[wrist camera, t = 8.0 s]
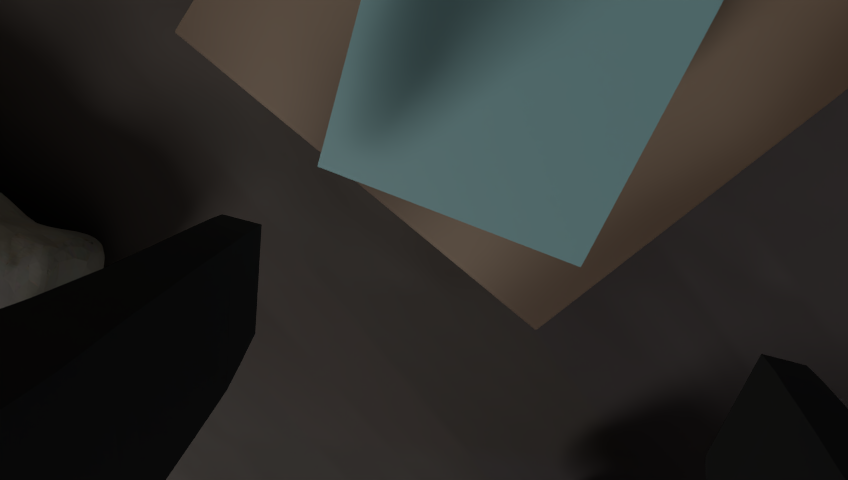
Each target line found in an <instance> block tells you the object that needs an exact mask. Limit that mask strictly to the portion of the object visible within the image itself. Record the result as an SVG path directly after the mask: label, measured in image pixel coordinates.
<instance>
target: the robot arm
mask: <svg viewBox="0 0 848 480" xmlns="http://www.w3.org/2000/svg"><path fill="white" fill-rule="evenodd" d="M260 241H261V224H257V223H253V222H250V221H246V220H242V219H238V218H234V217H230V216H226V215H223V214H222V215H219V216H217V217H214V218H212V219H209V220H207V221H205V222H202V223H200V224H198V225H196V226H194V227H191V228H189V229H187V230H185V231H183V232H181V233H179V234H176V235H174V236H172V237H170V238H168V239H166V240H164V241H162V242H159V243H157V244H155V245H153V246H151V247H149V248H147V249H144V250H142V251H140V252H138V253H136V254H133V255H131V256H129V257H127V258H125V259H122V260H120V261H118V262H116V263H114V264H111V265H109V266H107V267H105V268H103V269H100V270H98V271H95V272H93V273H90V274H88V275H85V276H83V277H81V278H78V279H76V280H73V281H71V282H68V283H66V284H63V285H61V286H58V287H56V288H53V289H51V290H49V291H46V292H44V293H41V294H39V295H36V296H34V297H31V298H29V299H26V300H23V301H20V302H18V303H15V304H12V305H9V306H6V307H4V308H1V309H0V480H166V478H167V477H168V476H169V474H170V473H171V471H172V470H173V468H174V467H175V465H176V464H177V462H178V461H179V460H180V458H181V457H182V455H183V454H184V452H185V451H186V449H187V448H188V446H189V445H190V444H191V442H192V441H193V439H194V438H195V436H196V435H197V433H198V432H199V430H200V429H201V427H202V426H203V424H204V423H205V421H206V420H207V419H208V417H209V416H210V414H211V413H212V411H213V410H214V408H215V407H216V405H217V404H218V402H219V401H220V399H221V398H222V396H223V395H224V393H225V392H226V390H227V388H228V386H229V384H230V383H231V381H232V379H233V377H234V375H235V373H236V371H237V369H238V367H239V365H240V363H241V361H242V359H243V357H244V355H245V353H246V351H247V349H248V347H249V345H250V343H251V341H252V339H253V337H254V335H255V326H256V309H257V292H258V275H259V258H260ZM705 457H706V480H848V409H847V408H846V407H845V405H844V404H843V403H842V402H841V401H840V400H839V399H838V398H837V397H836V395H835V394H834V393H833V392H832V391H831V390H830V389H829V388H828V387H827V386H826V385H825V384H824V382H823V381H822V380H821V379H820V378H819V377H818V376H817V375H816V374H815V373H814V372H813V371H812V370H811V369H810V368H809V367H807V366H806V365H802V364H798V363H794V362H790V361H786V360H783V359H779V358H775V357H771V356H767V355H763V354H761V356H760V358H759V359H758V361H757V363H756V365H755V367H754V369H753V370H752V372H751V374H750V376H749V378H748V379H747V381H746V383H745V385H744V387H743V389H742V390H741V392H740V394H739V396H738V398H737V399H736V401H735V403H734V405H733V407H732V409H731V410H730V412H729V414H728V416H727V418H726V420H725V421H724V423H723V425H722V427H721V429H720V430H719V432H718V434H717V436H716V438H715V440H714V441H713V443H712V445H711V447H710V449H709V451H708V452H707V454H706V456H705Z"/></svg>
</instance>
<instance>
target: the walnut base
mask: <svg viewBox="0 0 848 480" xmlns="http://www.w3.org/2000/svg"><path fill="white" fill-rule="evenodd" d="M360 2H361V0H194V1H193V2H192V4H191V6H190V7H189V9H188V11H187V12H186V14H185V16H184V17H183V19H182V21H181V22H180V24H179V26H178V27H177V29H176V31H175V33H177V34H178V35H179V36H180V37H181V38H183V39H184V40H185V41H186V42H187V43H189V44H190V45H191V46H192V47H193V48H195V49H196V50H197V51H198V52H200V53H201V54H202V55H203V56H204V57H206V58H207V59H208V60H209V61H210V62H212V63H213V64H214V65H215V66H216V67H218V68H219V69H220V70H221V71H223V72H224V73H225V74H226V75H227V76H229V77H230V78H231V79H232V80H233V81H235V82H236V83H237V84H238V85H239V86H241V87H242V88H243V89H244V90H246V91H247V92H248V93H249V94H250V95H252V96H253V97H254V98H255V99H256V100H258V101H259V102H260V103H261V104H263V105H264V106H265V107H266V108H267V109H269V110H270V111H271V112H272V113H273V114H275V115H276V116H277V117H278V118H279V119H281V120H282V121H283V122H284V123H286V124H287V125H288V126H289V127H290V128H292V129H293V130H294V131H295V132H296V133H298V134H299V135H300V136H301V137H302V138H304V139H305V140H306V141H307V142H309V143H310V144H311V145H312V146H313V147H315V148H316V149H317V150H318V151H319V152H321V151H322V148H323V144H324V140H325V136H326V132H327V128H328V125H329V121H330V117H331V113H332V109H333V105H334V102H335V98H336V94H337V90H338V86H339V82H340V78H341V75H342V71H343V67H344V63H345V59H346V55H347V52H348V48H349V44H350V40H351V36H352V32H353V29H354V25H355V21H356V17H357V13H358V9H359V5H360ZM846 89H848V0H724V1H723V2H722V4H721V6H720V8H719V10H718V12H717V14H716V15H715V17H714V19H713V21H712V23H711V25H710V27H709V29H708V30H707V32H706V34H705V36H704V38H703V40H702V42H701V44H700V45H699V47H698V49H697V51H696V53H695V55H694V57H693V58H692V60H691V62H690V64H689V66H688V68H687V70H686V72H685V73H684V75H683V77H682V79H681V81H680V83H679V85H678V87H677V88H676V90H675V92H674V94H673V96H672V98H671V100H670V101H669V103H668V105H667V107H666V109H665V111H664V113H663V115H662V116H661V118H660V120H659V122H658V124H657V126H656V128H655V129H654V131H653V133H652V135H651V137H650V139H649V141H648V143H647V144H646V146H645V148H644V150H643V152H642V154H641V156H640V158H639V159H638V161H637V163H636V165H635V167H634V169H633V171H632V172H631V174H630V176H629V178H628V180H627V182H626V184H625V186H624V187H623V189H622V191H621V193H620V195H619V197H618V199H617V201H616V202H615V204H614V206H613V208H612V210H611V212H610V214H609V215H608V217H607V219H606V221H605V223H604V225H603V227H602V229H601V230H600V232H599V234H598V236H597V238H596V240H595V242H594V244H593V245H592V247H591V249H590V251H589V253H588V255H587V257H586V258H585V260H584V262H583V264H582V266H581V267H579V266H576V265H573V264H571V263H568V262H566V261H563V260H560V259H558V258H555V257H553V256H550V255H547V254H545V253H542V252H540V251H537V250H534V249H532V248H529V247H527V246H524V245H521V244H519V243H516V242H513V241H511V240H508V239H506V238H503V237H500V236H498V235H495V234H493V233H490V232H487V231H485V230H482V229H480V228H477V227H474V226H472V225H469V224H466V223H464V222H461V221H459V220H456V219H453V218H451V217H448V216H446V215H443V214H440V213H438V212H435V211H433V210H430V209H427V208H425V207H422V206H420V205H417V204H414V203H412V202H409V201H406V200H404V199H401V198H399V197H396V196H393V195H391V194H388V193H386V192H383V191H380V190H378V189H375V188H373V187H370V186H367V185H365V184H362V183H360V182H357V181H356V182H357V183H358V184H359V185H361V186H362V187H363V188H364V189H365V190H367V191H368V192H369V193H370V194H372V195H373V196H374V197H375V198H376V199H378V200H379V201H380V202H381V203H382V204H384V205H385V206H386V207H387V208H388V209H390V210H391V211H392V212H393V213H395V214H396V215H397V216H398V217H399V218H401V219H402V220H403V221H404V222H405V223H407V224H408V225H409V226H410V227H411V228H413V229H414V230H415V231H416V232H418V233H419V234H420V235H421V236H422V237H424V238H425V239H426V240H427V241H428V242H430V243H431V244H432V245H433V246H434V247H436V248H437V249H438V250H439V251H441V252H442V253H443V254H444V255H445V256H447V257H448V258H449V259H450V260H451V261H453V262H454V263H455V264H456V265H457V266H459V267H460V268H461V269H462V270H464V271H465V272H466V273H467V274H468V275H470V276H471V277H472V278H473V279H474V280H476V281H477V282H478V283H479V284H480V285H482V286H483V287H484V288H485V289H487V290H488V291H489V292H490V293H491V294H493V295H494V296H495V297H496V298H497V299H499V300H500V301H501V302H502V303H504V304H505V305H506V306H507V307H508V308H510V309H511V310H512V311H513V312H514V313H516V314H517V315H518V316H519V317H520V318H522V319H523V320H524V321H525V322H527V323H528V324H529V325H530V326H531V327H533V328H534V329H535V330H537V329H538V328H539V327H540V326H542V325H543V324H544V323H546V322H547V321H548V320H550V319H551V318H552V317H553V316H555V315H556V314H557V313H559V312H560V311H561V310H562V309H564V308H565V307H566V306H568V305H569V304H570V303H571V302H573V301H574V300H575V299H577V298H578V297H579V296H581V295H582V294H583V293H584V292H586V291H587V290H588V289H590V288H591V287H592V286H593V285H595V284H596V283H597V282H599V281H600V280H601V279H602V278H604V277H605V276H606V275H608V274H609V273H610V272H611V271H613V270H614V269H615V268H617V267H618V266H619V265H621V264H622V263H623V262H624V261H626V260H627V259H628V258H630V257H631V256H632V255H633V254H635V253H636V252H637V251H639V250H640V249H641V248H642V247H644V246H645V245H646V244H648V243H649V242H650V241H652V240H653V239H654V238H655V237H657V236H658V235H659V234H661V233H662V232H663V231H664V230H666V229H667V228H668V227H670V226H671V225H672V224H673V223H675V222H676V221H677V220H679V219H680V218H681V217H682V216H684V215H685V214H686V213H688V212H689V211H690V210H692V209H693V208H694V207H695V206H697V205H698V204H699V203H701V202H702V201H703V200H704V199H706V198H707V197H708V196H710V195H711V194H712V193H713V192H715V191H716V190H717V189H719V188H720V187H721V186H723V185H724V184H725V183H726V182H728V181H729V180H730V179H732V178H733V177H734V176H735V175H737V174H738V173H739V172H741V171H742V170H743V169H744V168H746V167H747V166H748V165H750V164H751V163H752V162H754V161H755V160H756V159H757V158H759V157H760V156H761V155H763V154H764V153H765V152H766V151H768V150H769V149H770V148H772V147H773V146H774V145H775V144H777V143H778V142H779V141H781V140H782V139H783V138H784V137H786V136H787V135H788V134H790V133H791V132H792V131H794V130H795V129H796V128H797V127H799V126H800V125H801V124H803V123H804V122H805V121H806V120H808V119H809V118H810V117H812V116H813V115H814V114H815V113H817V112H818V111H819V110H821V109H822V108H823V107H825V106H826V105H827V104H828V103H830V102H831V101H832V100H834V99H835V98H836V97H837V96H839V95H840V94H841V93H843V92H844V91H845V90H846Z"/></svg>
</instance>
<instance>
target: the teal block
mask: <svg viewBox="0 0 848 480" xmlns="http://www.w3.org/2000/svg"><path fill="white" fill-rule="evenodd" d="M723 1H724V0H361V2H360V5H359V9H358V13H357V17H356V21H355V25H354V29H353V32H352V36H351V40H350V44H349V48H348V52H347V55H346V59H345V63H344V67H343V71H342V75H341V78H340V82H339V86H338V90H337V94H336V98H335V102H334V105H333V109H332V113H331V117H330V121H329V125H328V128H327V132H326V136H325V140H324V144H323V148H322V151H321V155H320V159H319V163H318V167H320V168H323V169H326V170H328V171H331V172H333V173H336V174H339V175H341V176H344V177H346V178H349V179H352V180H354V181H357V182H360V183H362V184H365V185H367V186H370V187H373V188H375V189H378V190H380V191H383V192H386V193H388V194H391V195H393V196H396V197H399V198H401V199H404V200H406V201H409V202H412V203H414V204H417V205H420V206H422V207H425V208H427V209H430V210H433V211H435V212H438V213H440V214H443V215H446V216H448V217H451V218H453V219H456V220H459V221H461V222H464V223H466V224H469V225H472V226H474V227H477V228H480V229H482V230H485V231H487V232H490V233H493V234H495V235H498V236H500V237H503V238H506V239H508V240H511V241H513V242H516V243H519V244H521V245H524V246H527V247H529V248H532V249H534V250H537V251H540V252H542V253H545V254H547V255H550V256H553V257H555V258H558V259H560V260H563V261H566V262H568V263H571V264H573V265H576V266H579V267H581V266H582V264H583V262H584V260H585V258H586V257H587V255H588V253H589V251H590V249H591V247H592V245H593V244H594V242H595V240H596V238H597V236H598V234H599V232H600V230H601V229H602V227H603V225H604V223H605V221H606V219H607V217H608V215H609V214H610V212H611V210H612V208H613V206H614V204H615V202H616V201H617V199H618V197H619V195H620V193H621V191H622V189H623V187H624V186H625V184H626V182H627V180H628V178H629V176H630V174H631V172H632V171H633V169H634V167H635V165H636V163H637V161H638V159H639V158H640V156H641V154H642V152H643V150H644V148H645V146H646V144H647V143H648V141H649V139H650V137H651V135H652V133H653V131H654V129H655V128H656V126H657V124H658V122H659V120H660V118H661V116H662V115H663V113H664V111H665V109H666V107H667V105H668V103H669V101H670V100H671V98H672V96H673V94H674V92H675V90H676V88H677V87H678V85H679V83H680V81H681V79H682V77H683V75H684V73H685V72H686V70H687V68H688V66H689V64H690V62H691V60H692V58H693V57H694V55H695V53H696V51H697V49H698V47H699V45H700V44H701V42H702V40H703V38H704V36H705V34H706V32H707V30H708V29H709V27H710V25H711V23H712V21H713V19H714V17H715V15H716V14H717V12H718V10H719V8H720V6H721V4H722V2H723Z"/></svg>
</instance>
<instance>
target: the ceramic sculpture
mask: <svg viewBox="0 0 848 480" xmlns="http://www.w3.org/2000/svg"><path fill="white" fill-rule="evenodd" d="M104 261H105V255H104V251H103V246H102V244H101V243H100V242H99V241H98V240H97V239H96V238H94V237H92V236H90V235H88V234H84V233H80V232H76V231H70V230H64V229H58V228H53V227H48V226H45V225H41V224H38V223H36V222H34V221H33V220H32V219H30V218H29V217H27V216H26V215H25V214H24V213H23V212H22V211H21V210H20V209H19V208H18V207H17V206H16V205H15V204H14V203H12V202H11V201H10V200H9V199H8V198H7V197H6V196H4V195H3V194H2V193H1V192H0V309H1V308H4V307H6V306H9V305H12V304H15V303H18V302H20V301H23V300H26V299H29V298H31V297H34V296H36V295H39V294H41V293H44V292H46V291H49V290H51V289H53V288H56V287H58V286H61V285H63V284H66V283H68V282H71V281H73V280H76V279H78V278H81V277H83V276H85V275H88V274H90V273H93V272H95V271H98V270H100V269H103V268H104Z"/></svg>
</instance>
